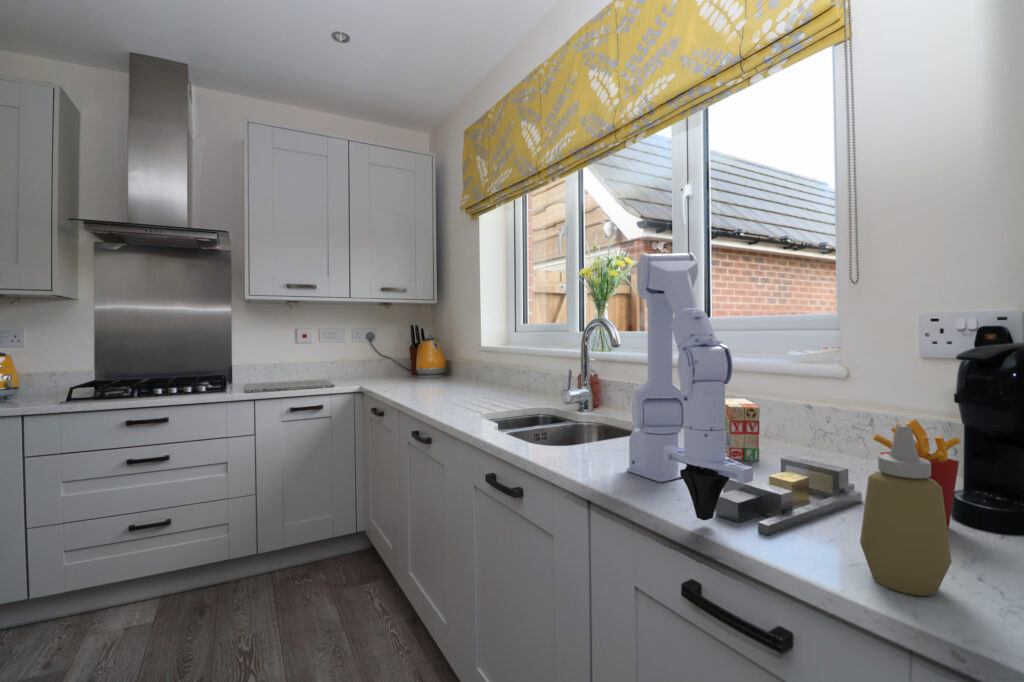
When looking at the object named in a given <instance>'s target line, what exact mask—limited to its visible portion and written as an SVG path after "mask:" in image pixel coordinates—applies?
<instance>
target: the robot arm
mask: <svg viewBox="0 0 1024 682" xmlns="http://www.w3.org/2000/svg"><path fill="white" fill-rule="evenodd" d="M636 269H637V270H636V271H637V272H636V273H637V274H636V286H637V287H636V290H637V294H638V295H637V296H638V297H640V298H642V299H644V300H645V301H646V302H645V303H646V307H647V380H646V381H645V382H644V383H643V384H642V385H640V386H639V387H637V388H636V389H635V390H634V393H633V396H632V397H633V398H632V399H633V401H632V404H631V417H632V422H633V425H634V427H635V428H634V429H633V431H632V432H631V433H630V436H629V440H628V442H629V443H628V447H629V449H628V451H629V452H628V453H629V455H628V456H629V458H628V461H629V462H628V463H629V467H626V471H628V472H629V473H633V474H636V475H638V476H641V477H644V478H647V479H650V480H651V481H652V480H653V481H656V482H659V483H663V482H667V481H672V480H675V479H680V478H681V479H682V480H683V482H684V484H685V485H686V487H687V490H688V493H689V495H690V499H691V502H692V504H693V508H694V513H695V516H696V519H700V520H702V521H708V520H711V519H714V516H715V508H716V504H717V501H718V498H719V496H720V494H721V493H722V491H723V488H724V486H725V484H726V483H727V481H728V480H729V478H733V479H736V480H737V481H738V482H740V483H748V482H752V481H753V480H754V468H753V467H752V466H749V465H746V464H743V463H741V462H739V461H737V460H732V459H730V458H728V457H727V454H725V399H726V385H728V384H729V383H730V381H731V379H732V376H733V369H734V368H733V366H734V365H733V358H732V354H731V351H730V348H729V347H728V346H727V345H726V344H723V341H722V340H717V337H716V335H715V332H714V329H713V326H712V324H711V322H710V318H709V316H708V314H707V313H706V312H705V311H704V310H702V309H700V308H698V305H697V301H696V296H695V291H694V285H695V283H696V280H697V277H698V274H699V273H698V271H699V264H698V260H697V257H696V256H695V255H694V253H692V252H687V253H653V254H652V253H649V254H648V253H642V254H641V256H640V257H639V259H638V263H637V268H636ZM673 314H674V316H673ZM673 337H674V339H675V343H676V348H677V350H678V356H677V357H678V358H677V373H678V377H679V382H680V383H679V386H680V387H679V386H678V385H676V384H674V383H673ZM682 430H683V447H680V446H679V433H681V432H682ZM679 463H680V464H683V465H684V464H685V465H686V466H685V468H683V469H680V470H679Z"/></svg>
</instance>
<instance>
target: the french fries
mask: <svg viewBox="0 0 1024 682" xmlns="http://www.w3.org/2000/svg"><path fill="white" fill-rule="evenodd" d="M897 426H909V427H911V430H912V434H913V437H915V438H914V442H915V445H916V449H917V453H918V456H919V457H920V458H924V459H926V460H928V461H930V462H931V476H930V477H928V478H930V479H933V480H934V481H935V482H937V483H938V484H939V485H940V486H941V487H942V491H943V499H944V507H945V515H946V523H947V527H948V528H949V527H950V522H951V516H952V511H953V503H954V498H955V497H954V496H955V490H956V485H957V484H956V483H957V477H958V471H959V465H960V464H959V463H960V461H959V460H956V459H953V458H949V457H948V451H949V449H951V448H953V447H954V446H957V445H959V444H961V443H962V440H961V439H960V438H958V437H953V438H951V439H948V440H947V441H945V437H944V436H935V437H934V442H935V445H936V451H935V452H933V453H930V451H931V449H930V442H929V440H930V438H929V437H928V435H927V432H926V430H925V429H924V428H923V426H922V425H921V423H919V422H918V420H917V419H915V418H914V419H910V420H909V421H908V422H905V423H904V425H903V424H899V423H898V424H897V423H896V425H895V427H892V428H891V429H890V431H892V432H893V437H892V440H894V436H895V433H896V429H897ZM872 440H873V441H874V442H877V443H880V444H881V445H883V446H884V447H886V448H888V449H890V450H891V447H892V443H893V441H892V440H889V439H888V438H886V437H883V436H881V435H880V434H877V433H876V434H875V435H874V436H872ZM881 454H890V451H887V452H886V451H885V452H880V455H881Z"/></svg>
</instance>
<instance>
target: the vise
mask: <svg viewBox="0 0 1024 682" xmlns="http://www.w3.org/2000/svg"><path fill="white" fill-rule="evenodd" d="M782 472H790V473H794V474H798V475H802V476H806V477H809V494H812V495H815V496H818V497H819V496H820V497H823V498H824V499H821V500H818V501H815V502H812V503H810V504H806V505H804V506H801V507H798V508H795V509H793V510H792V511H789V512H786V513H783V514H780V515H777V516H774V517H768V518H764V519H762V520H760V521H758V522H757V533H758V534H762V535H764V536H766V537H769V536H772V535H775V534H777V533H781V532H784V531H786V530H788V529H791V528H793V527H797V526H799V525H802V524H804V523H807V522H810V521H812V520H814V519H815V520H816V519H817V518H820V517H824V516H826V515H828V514H831V513H834V512H836V511H838V510H841V509H845V508H847V507H849V506H852V505H856V504H857V503H860V502H862V494H863V493H862V491H857V490H855V483H851V482H849V468H847V467H841V466H838V465H832V464H829V463H823V462H820V461H816V460H815V461H814V460H810V459H805V458H802V457H796V456H793V455H789V456H785V457H780V473H782Z"/></svg>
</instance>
